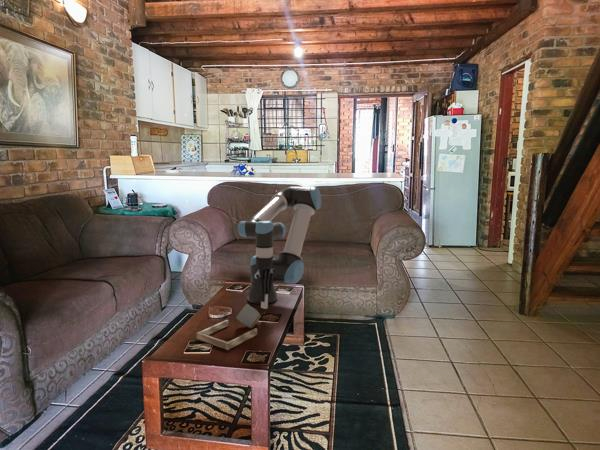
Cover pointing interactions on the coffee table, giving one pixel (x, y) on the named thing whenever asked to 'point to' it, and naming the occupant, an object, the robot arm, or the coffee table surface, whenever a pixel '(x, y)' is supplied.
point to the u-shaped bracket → (220, 343)
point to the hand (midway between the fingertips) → (264, 307)
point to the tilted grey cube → (248, 316)
